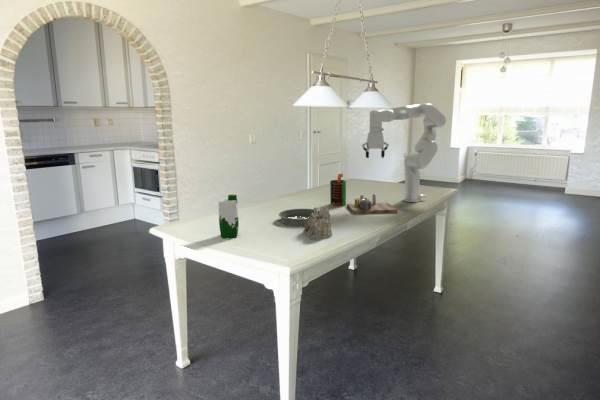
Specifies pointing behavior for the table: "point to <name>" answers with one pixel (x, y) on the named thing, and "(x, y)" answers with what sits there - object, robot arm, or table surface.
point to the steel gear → (365, 205)
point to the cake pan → (298, 213)
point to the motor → (338, 191)
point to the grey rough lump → (318, 225)
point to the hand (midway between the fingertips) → (375, 157)
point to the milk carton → (228, 217)
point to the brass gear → (358, 202)
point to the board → (372, 207)
